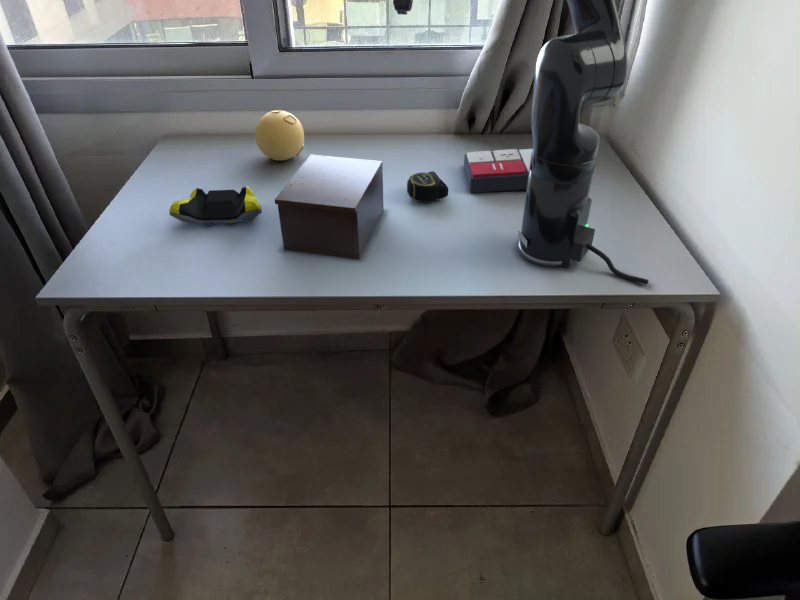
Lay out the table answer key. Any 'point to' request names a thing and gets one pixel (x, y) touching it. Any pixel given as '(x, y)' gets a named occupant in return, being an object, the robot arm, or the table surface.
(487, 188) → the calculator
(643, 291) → the table surface
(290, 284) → the table surface
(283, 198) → the lid
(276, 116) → the stress ball
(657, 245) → the table surface
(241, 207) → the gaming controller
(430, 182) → the tape measure
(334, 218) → the chest
